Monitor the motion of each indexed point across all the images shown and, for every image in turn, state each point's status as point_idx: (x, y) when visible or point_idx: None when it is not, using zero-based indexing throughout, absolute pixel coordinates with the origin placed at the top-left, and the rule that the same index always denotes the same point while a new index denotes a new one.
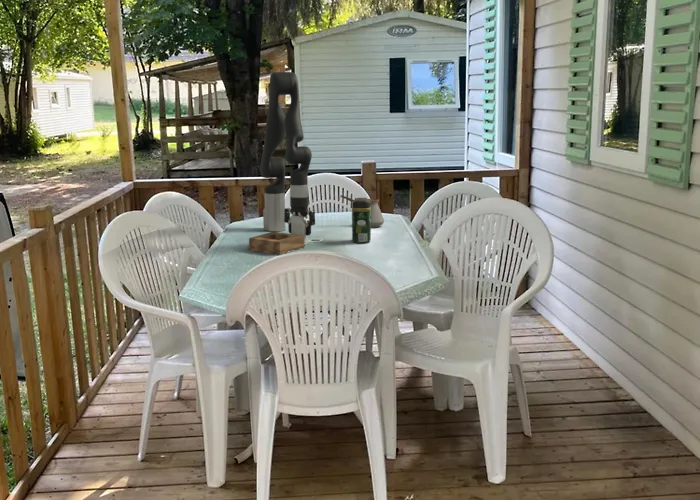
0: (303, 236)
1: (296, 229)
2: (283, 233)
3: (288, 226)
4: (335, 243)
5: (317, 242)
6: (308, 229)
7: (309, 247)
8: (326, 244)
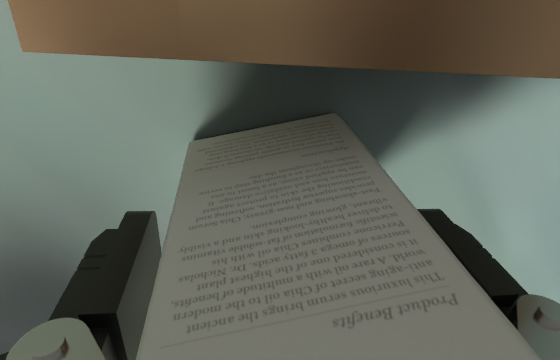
0: (30, 47)
1: (314, 223)
2: (487, 37)
3: (510, 276)
4: (24, 324)
5: None
6: (80, 286)
7: (65, 79)
8: (49, 268)
